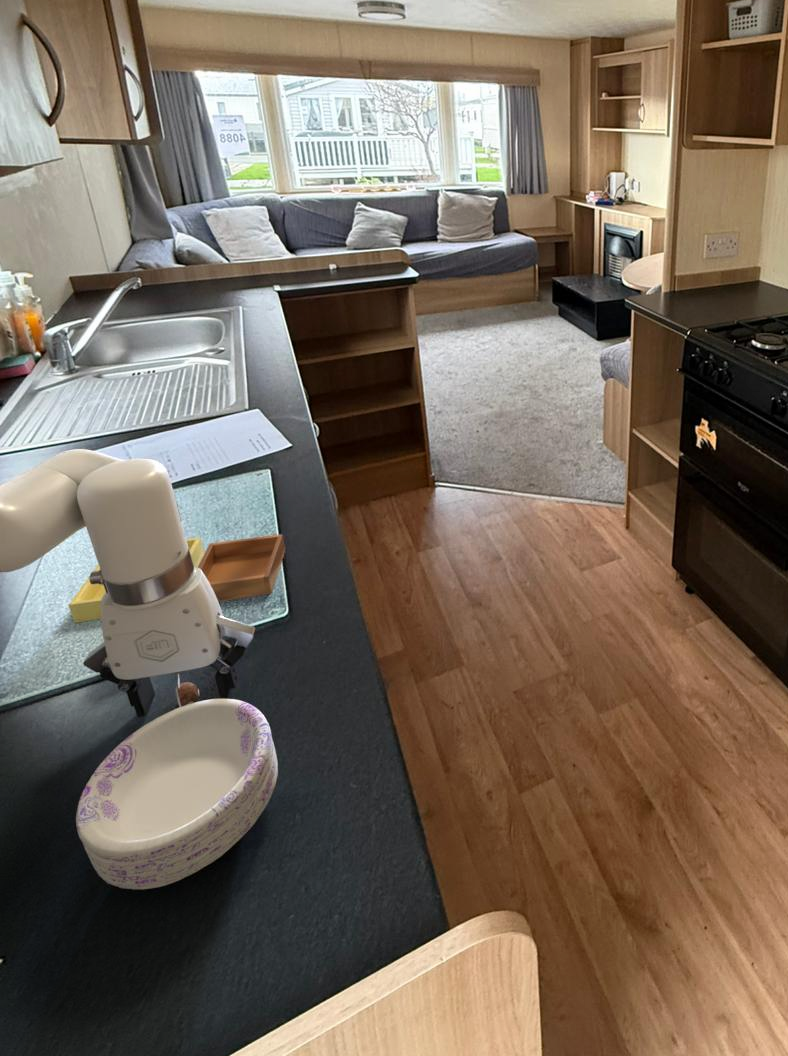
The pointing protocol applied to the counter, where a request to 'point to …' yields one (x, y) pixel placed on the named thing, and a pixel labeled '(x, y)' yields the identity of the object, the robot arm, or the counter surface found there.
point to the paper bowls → (177, 793)
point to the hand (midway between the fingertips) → (188, 698)
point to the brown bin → (243, 566)
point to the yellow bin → (90, 595)
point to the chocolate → (186, 693)
